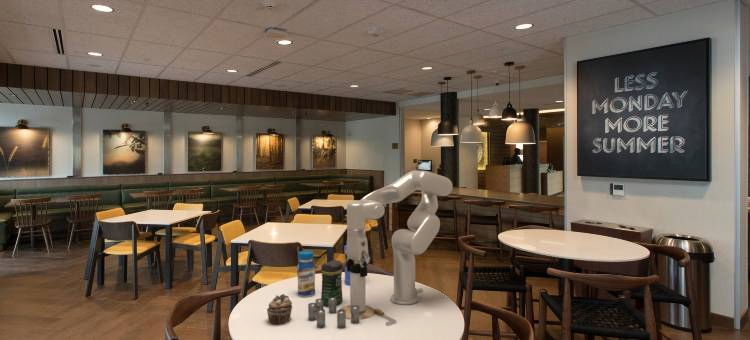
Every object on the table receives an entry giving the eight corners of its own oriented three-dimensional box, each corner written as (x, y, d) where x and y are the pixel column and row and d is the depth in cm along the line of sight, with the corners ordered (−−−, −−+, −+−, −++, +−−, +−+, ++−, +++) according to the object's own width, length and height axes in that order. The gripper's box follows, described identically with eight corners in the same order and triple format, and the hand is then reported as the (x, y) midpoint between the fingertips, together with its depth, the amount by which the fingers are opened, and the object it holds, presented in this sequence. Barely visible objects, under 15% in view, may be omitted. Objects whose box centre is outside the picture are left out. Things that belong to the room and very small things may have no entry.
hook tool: (367, 314, 162) (367, 311, 162) (377, 312, 165) (377, 308, 165) (387, 325, 151) (387, 321, 151) (397, 322, 154) (397, 318, 154)
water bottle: (342, 281, 205) (341, 233, 205) (358, 279, 209) (358, 232, 208) (348, 287, 197) (348, 236, 196) (365, 284, 201) (365, 235, 200)
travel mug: (356, 316, 160) (356, 266, 159) (347, 310, 165) (347, 263, 164) (369, 312, 163) (368, 264, 163) (360, 307, 169) (359, 260, 168)
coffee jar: (333, 308, 169) (333, 265, 168) (318, 305, 173) (317, 262, 172) (345, 301, 177) (345, 259, 177) (330, 298, 181) (330, 257, 181)
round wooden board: (361, 302, 175) (361, 302, 175) (382, 313, 163) (382, 312, 163) (331, 310, 166) (331, 309, 166) (351, 322, 154) (351, 321, 154)
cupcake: (281, 313, 163) (281, 289, 163) (297, 320, 157) (296, 294, 157) (261, 321, 156) (261, 296, 156) (277, 328, 150) (276, 301, 149)
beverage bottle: (317, 291, 190) (317, 250, 190) (313, 297, 182) (312, 254, 181) (300, 291, 191) (299, 249, 190) (295, 297, 183) (294, 254, 182)
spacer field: (336, 308, 169) (336, 294, 169) (361, 322, 154) (361, 307, 154) (303, 317, 160) (302, 302, 160) (325, 333, 145) (325, 317, 144)
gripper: (376, 234, 159) (376, 276, 160) (352, 228, 173) (353, 267, 174) (360, 237, 154) (361, 280, 155) (337, 230, 168) (338, 270, 169)
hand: (357, 273), depth 164 cm, fingers open, 9 cm apart
